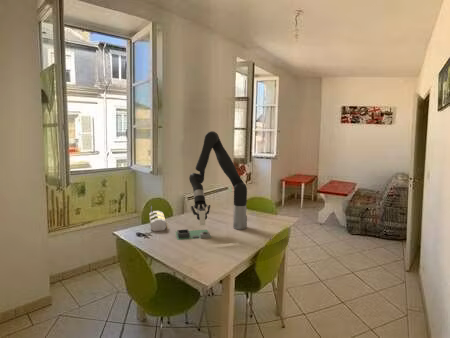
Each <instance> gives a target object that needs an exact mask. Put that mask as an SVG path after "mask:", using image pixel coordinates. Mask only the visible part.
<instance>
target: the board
mask: <svg viewBox="0 0 450 338" xmlns="http://www.w3.org/2000/svg"><path fill="white" fill-rule="evenodd" d="M174 233H175V237H176V239H177V241H181V240H195V239H212V236H211V234H210V232H209V231H208V229H196V230H195V229H193V230H189V229H177V230H176V231H175V232H174Z"/></svg>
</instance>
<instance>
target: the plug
mask: <svg viewBox="0 0 450 338" xmlns="http://www.w3.org/2000/svg"><path fill="white" fill-rule="evenodd" d="M205 209H206V208H205ZM205 209H204V208H199V209H198V210H199V218H200V220H198V226H206V220H205Z"/></svg>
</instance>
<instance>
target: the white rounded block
mask: <svg viewBox="0 0 450 338" xmlns="http://www.w3.org/2000/svg"><path fill="white" fill-rule="evenodd" d="M152 209H153V207H152V205H151V206H150V212H149V214H148V215H149V223H150V224H149V225H150V229H151V230H152V231H153V232H154V231H156V232H157V231H166V229H167V221H166V218H165V214H164V212H163V211H160V210H153V211H152Z"/></svg>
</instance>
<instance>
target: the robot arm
mask: <svg viewBox="0 0 450 338" xmlns="http://www.w3.org/2000/svg"><path fill="white" fill-rule="evenodd" d="M212 150H213V151H214V153H215V157H216V160H217V162H218V166H220V169H221V170H222V171H223V173H224V174H225V176H226V177H228V179H229V180H230V182H231V183H230V184H231V185H232V187H233V218H232V219H233V221H232V228H233V229H234V230H239V231H240V230H245V229H247V227H248V225H247V224H248V215H247V203H248V202H247V201H248V187H247V185H246V184H245V181H243V179H242V178H241V176H240V175H239V173H238V171H237V167H236V166H235V164H234V162H233V160H232V158H231V157H230V155H229V154H228V152H227V150H226V149H225V147H224V144H222V141H221V139H220V136H219V134H218V133H217V132H215V131H213V130H210V131H208V132H207V133H206V134H205V135H204V139H203V145H202V148H201V152H200V155H199V157H198V160H197V163H196V166H195V170H196V171H198V172H199V173H196V172H191V173H190V175H189V183H190V185H191V187H192V191H193V201H194V205H191V206H190V210H191V212H192V214H193V215H194V216H196V220H198V221H199V220H200V218H199V210H198V209H199V208H204V209H205V221H207V218H208V215H209V214H210V210H211V204H209V205H208V204H207V202H206V197H205V192H204V186H203V182H204V181H205V173H206V169H207V166H208V163H209V158H210V154H211V153H212ZM206 208H207V209H206ZM195 209H196V210H195Z"/></svg>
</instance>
